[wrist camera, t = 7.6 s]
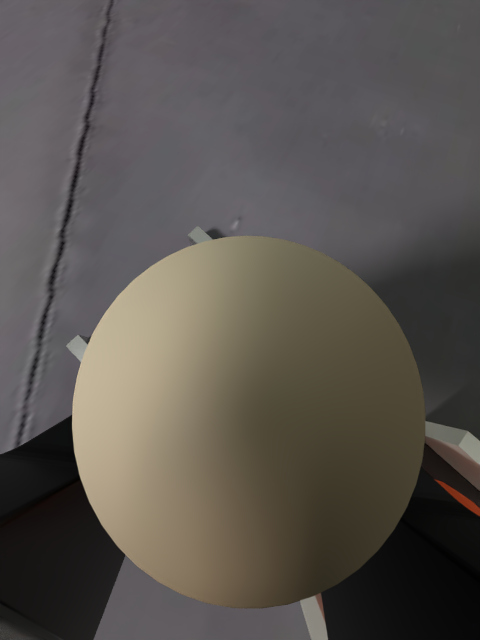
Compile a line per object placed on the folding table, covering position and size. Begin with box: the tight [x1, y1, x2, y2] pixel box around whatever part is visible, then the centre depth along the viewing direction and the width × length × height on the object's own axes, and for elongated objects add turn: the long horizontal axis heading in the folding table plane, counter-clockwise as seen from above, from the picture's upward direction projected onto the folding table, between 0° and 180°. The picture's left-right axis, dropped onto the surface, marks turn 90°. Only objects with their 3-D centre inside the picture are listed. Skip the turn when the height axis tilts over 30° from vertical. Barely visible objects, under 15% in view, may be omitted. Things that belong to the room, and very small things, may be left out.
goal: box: [300, 421, 480, 640], centre depth 12 cm, size 10×13×6 cm
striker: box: [72, 236, 425, 608], centre depth 9 cm, size 11×5×15 cm, turn 47°
